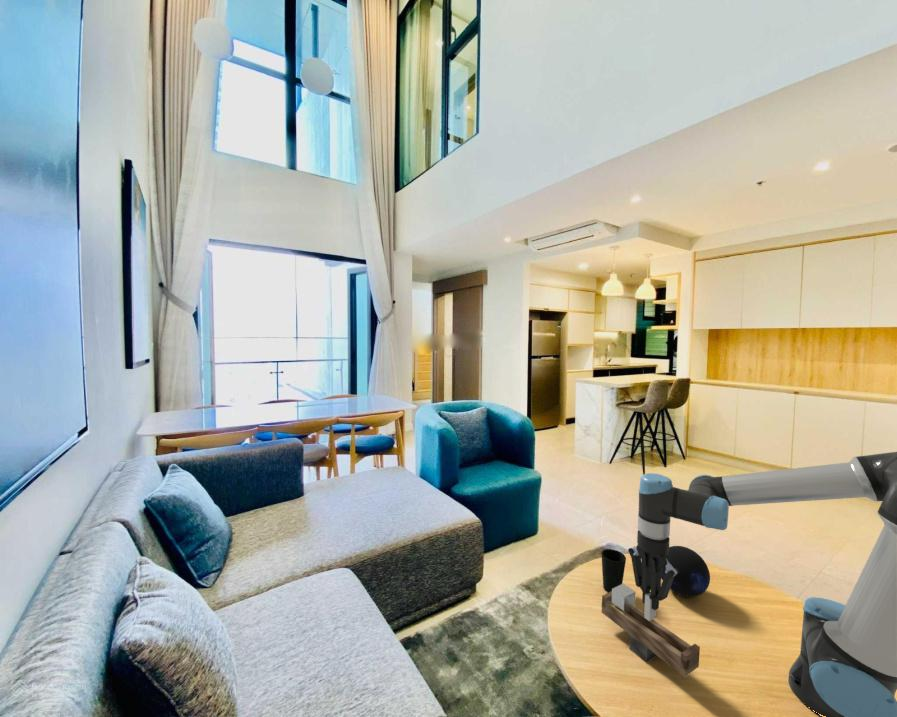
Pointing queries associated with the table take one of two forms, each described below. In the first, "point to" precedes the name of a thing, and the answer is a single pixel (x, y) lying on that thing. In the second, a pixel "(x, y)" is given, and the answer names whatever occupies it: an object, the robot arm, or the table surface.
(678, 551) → the decorative sphere
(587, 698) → the table surface
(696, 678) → the table surface
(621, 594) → the block
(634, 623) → the beam
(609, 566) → the cup
